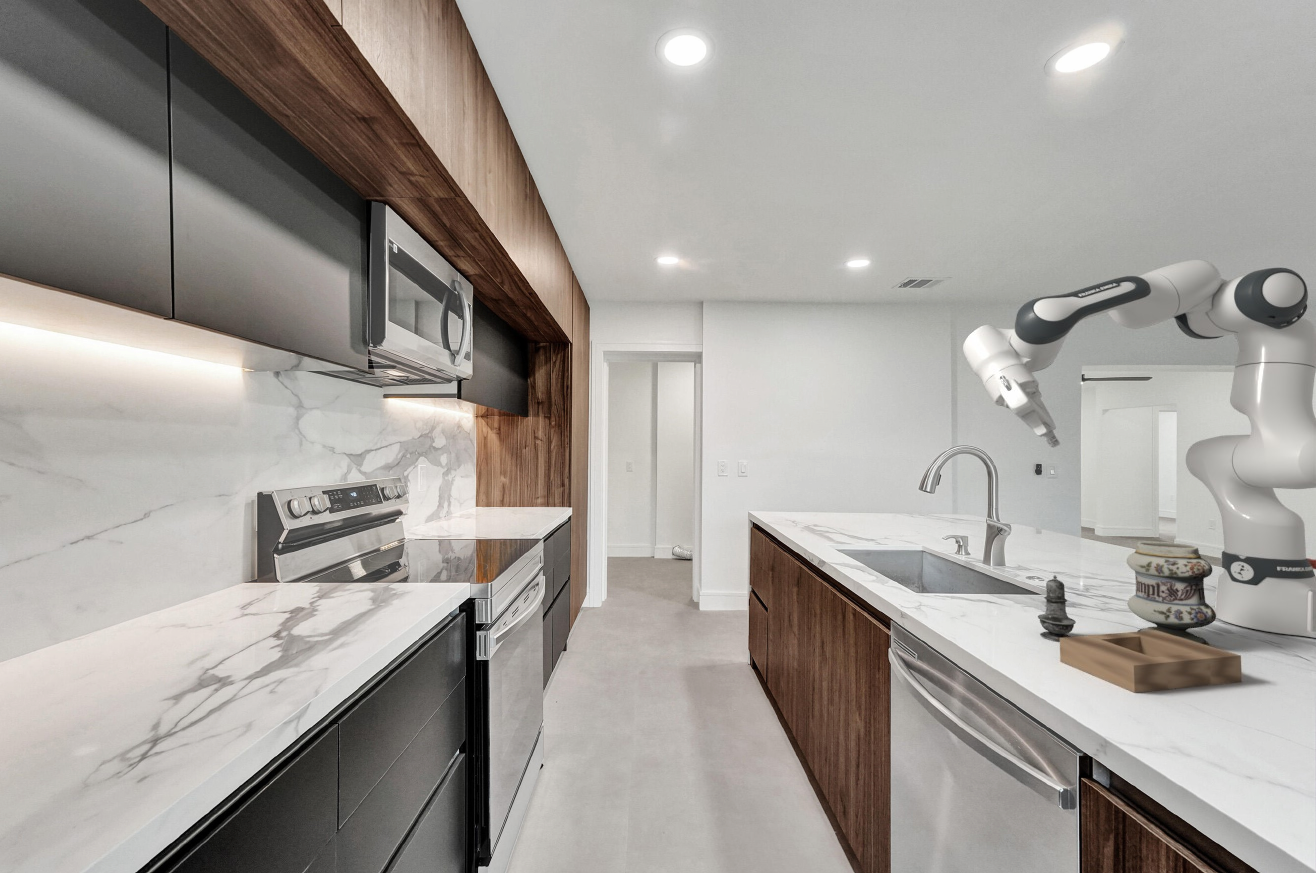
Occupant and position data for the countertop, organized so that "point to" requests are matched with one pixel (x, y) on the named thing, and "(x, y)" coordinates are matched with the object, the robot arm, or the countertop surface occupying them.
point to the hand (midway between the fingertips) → (1049, 440)
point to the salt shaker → (1055, 612)
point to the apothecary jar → (1171, 588)
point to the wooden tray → (1150, 660)
